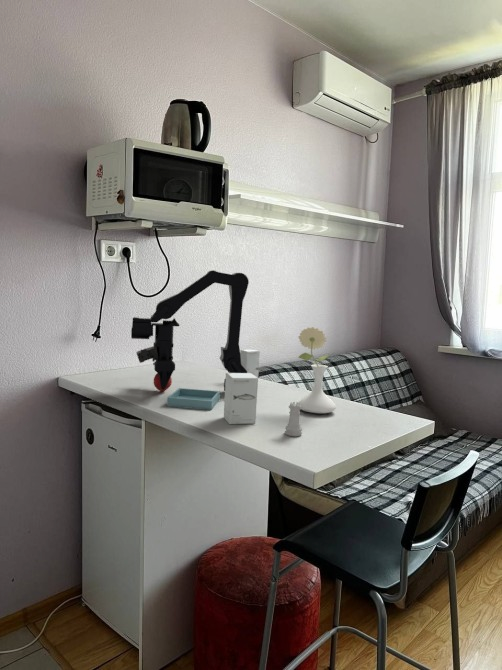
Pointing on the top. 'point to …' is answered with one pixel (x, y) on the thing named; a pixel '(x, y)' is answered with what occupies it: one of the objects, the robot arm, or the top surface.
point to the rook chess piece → (294, 421)
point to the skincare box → (250, 361)
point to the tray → (193, 398)
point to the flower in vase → (315, 374)
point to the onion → (158, 385)
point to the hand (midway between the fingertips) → (162, 387)
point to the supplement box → (240, 398)
